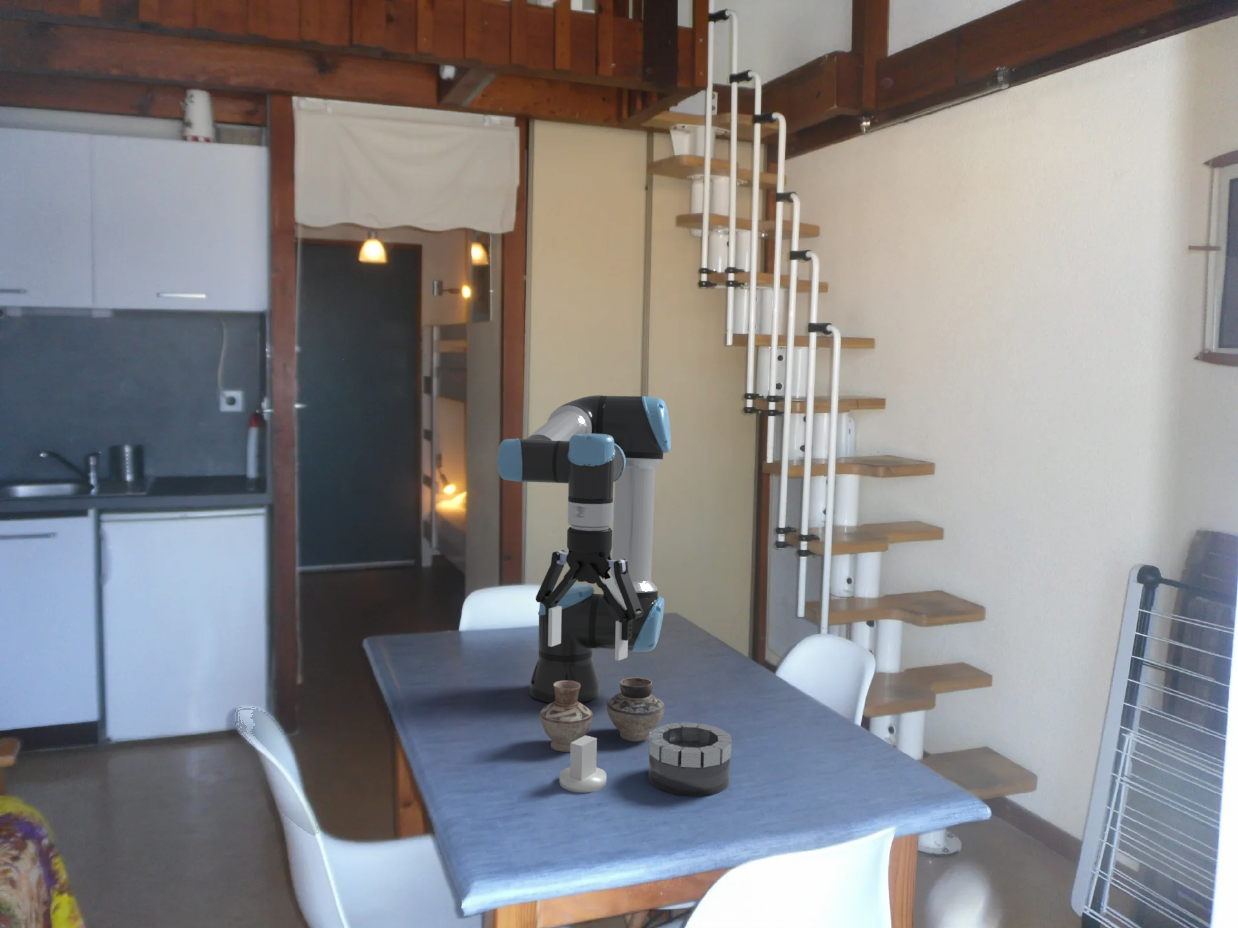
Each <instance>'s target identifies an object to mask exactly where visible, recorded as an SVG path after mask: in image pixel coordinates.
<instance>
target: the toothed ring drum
mask: <svg viewBox="0 0 1238 928" xmlns="http://www.w3.org/2000/svg"><path fill="white" fill-rule="evenodd" d="M732 748H733V741H732V735H731V734H730V733H729V732H728V731H725V730H723V729H722V728H721V727H720V728H719V727H718V726H714V725H709V724H706V723H699V722H684V721H683V722H682V721H680V723H679V722H673V723H667V724H661V725H659V726H658V725H657V726H656V727H655V728H654V729H653V730H651V731H650V734H649V738H648V781H649V783H650V784H651V785H652V786H653V787H655V788H656V789H658V790H660V791H662V792H664V793H668V794H672V795H675V796H681V797H682V796H684V797H704V796H711V795H715V794H718V793H721V792H723V791H725V790H726V789H727V788H728V787H729V786H730V779H731V758H732V753H733V752H732V751H733V750H732Z"/></svg>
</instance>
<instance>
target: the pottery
mask: <svg viewBox="0 0 1238 928" xmlns="http://www.w3.org/2000/svg"><path fill="white" fill-rule="evenodd" d="M553 686H554V691H555V701H554V702H552V703H548V704H547V705H546V706H544V707H543V708H542V709H541V710H540V712H539V717H540V721H541V724H542V725H541V726H542V728H543V730H544V732H545V734H546V735H547V736H548V738H550V739H551V743H550V747H551V749H552V750H554V751H557V752H561V753H562V752H563V753H568V752H570V743H571V742H573V741H575V740H577V739H579V738H581V737H583V736H585V735H586V736H587V733H588V732H589V730H590V728H591V724H592V721H593V718H594V717H593V716H594V714H593V711H592V710H591V709H590V708H588V707H587V706H586V705H584V704H583V703H580V702H578V701H577V700H578V694H579V690H580V686H581V685H580V684H579V683H578V682H575V681H568V680H565V681H558V682H555V683H554V684H553ZM619 689H620V691H621V692H619V693H617V694H615V695H613V696H612V697H611V698H609V699H607V701H606V710H607V715H608V718H609V719H610V721H611V723H612V724H613V725H614V726H615V728H616V729H617V730H618V731H619V736H620V738H622V739H623V740H626V741H629V742H641V741H646V740H649V734H650V731H651V730H653V729H655V728H657V727H658V725H659V724H660V723H661V721H662V719H663V718H664V713H665V710H666V704H665V703H664V702H663V701H662V700H661V699H660V698H658V697H657V696H655V695H653V694H652V692H653V681H652V680H650V679H648V678H645V677H644V678H643V677H637V676H636V677H627V678H623V679H621V680H620V682H619Z"/></svg>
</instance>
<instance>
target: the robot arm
mask: <svg viewBox="0 0 1238 928" xmlns="http://www.w3.org/2000/svg"><path fill="white" fill-rule="evenodd" d="M670 423H671V422H670V416H669V410H668V407H667V404H666V402H665V401H664V400H663V399H662V398H661V397H652V396H645V395H643V396H639V395H635V396H634V395H631V396H630V395H629V396H628V395H624V396H623V395H603V394H601V395H599V394H598V395H589V396H584V397H579V398H576V399H574V400H571V401H569V402H566V403H564V404H563V405H560V406H559V407H557V408H556V409H555V410H553V411H552V412H551V414H550V415H549V417H548V419H547V422H546V423H544V424H543V425H542V426H540V427H539V428H538V429H536V430H535V431H534V432H532V433H531V434H530V435H529V436H527V437H526V438H522V439H521V438H517V437H516V438H506V439H503V440H502V441H501V443H500V444H499V447H498V451H497V458H496V459H497V471H498V474H499V476H500V478H502V479H503V480H505V481H511V482H512V481H513V482H517V483H521V482H522V483H523V482H524V483H527V482H528V483H554V484H568V487H567V488H568V490H567V491H568V492H567V493H568V494H567V497H568V498H567V524H568V525H569V527H568V529H567V530H566V548H567V549H568V552H566V551H565V549H562V550H561V549H560V550H557V551H553V552H552V554H551V559H550V565H549V568H548V570H547V572H546V574H545V576H544V578H543V580H542V583H541V585H540V587H539V588H538V591H537V593H536V595H535V601H536V602H537V603H539V608H538V612H537V614H538V615H537V616H538V654H537V655H538V657H537V661H536V664H535V667H534V670H533V673H532V676H531V679H530V681H529V695H530V696H531V697H532V699H535V700H537V701H540V702H544V703H548V704H550V703H552V702H554V701H555V691H554V686H553V684H554V683H555V682H558V681H565V680H568V681H575V682H578V683H579V684H580V685H581V686H580V690H579V694H578V700H577V701H578V702H580V703H581V704H583V703H587V702H590V701H593V700H596V699H597V698H598V697H599V696H600V692H601V691H600V690H601V689H600V687H601V685H600V680H599V679H598V675H597V671H596V667H595V664H594V661H593V649H595V650H597V649H598V650H607V651H608V650H609V651H611V650H612V651H614V660H615V661H617V662H618V661H621V660H624V659H626V658H628V657H629V656H628V652H631V653H635V652H637V653H638V652H641V653H642V652H643V653H644V652H645V653H647V652H649V653H650V652H651V651H653V650H654V649H655V648H656V646H657V645H658V644H657V643H658V641H659V638H660V634H661V629H662V624H663V618H664V613H665V604H666V603H665V599H664V598H663V597H662V596H658V595H659V589H658V587H657V586H656V585H655V584H654V583H653V581H652V571H653V569H652V567H653V546H654V545H653V541H654V540H653V539H654V520H655V519H654V513H655V511H654V510H655V489H656V470H657V467H658V466H660V465H661V463H662V462H663V461H664V454H667V453H669V452H670V451H671V450H672V448H671V447H672V437H671V435H672V434H671V433H672V432H671V424H670ZM613 495H614V496H613ZM610 526H612V528H611V527H610ZM566 564H567V565H568V567H569V569H568V571H566V573H565V574H564V575H563V578H562V580H561V581H560V582H559V583H558V580H559V578H560V576H561V573H562V571H563V569H564V567H565V565H566ZM610 570H611V571H610ZM576 582H578V583H579V582H581V583H583V582H585V583H588V584H576ZM557 583H558V584H557ZM590 584H591V585H590ZM592 584H593V585H594V584H596V586H597V587H598V588H600V589H601V591H602V592H603V593H602V594H601V593H595V589H594V587H593V586H592ZM556 585H557V586H556Z"/></svg>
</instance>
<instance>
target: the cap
mask: <svg viewBox="0 0 1238 928" xmlns="http://www.w3.org/2000/svg"><path fill="white" fill-rule="evenodd" d="M597 741H598V738H597V737H593V736H590V735H587V734H586V735H585V736H583V737H581V738H579V739H577V740H575V741H573V742H571V743H570V753H569V756H570V758H569V767H565V768H564V769H562V770H561V771H560V772H559V780H558V781H559V786H560V787H561V788H562V789H564V790H566V791H569V792H573V793H581V794H585V793H586V794H587V793H594V792H597V791H600V790H603V789H604V788H605V787H606V786H607V773H606V771H605V770H603V769H602V768H599V767H597V750H598V742H597Z"/></svg>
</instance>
